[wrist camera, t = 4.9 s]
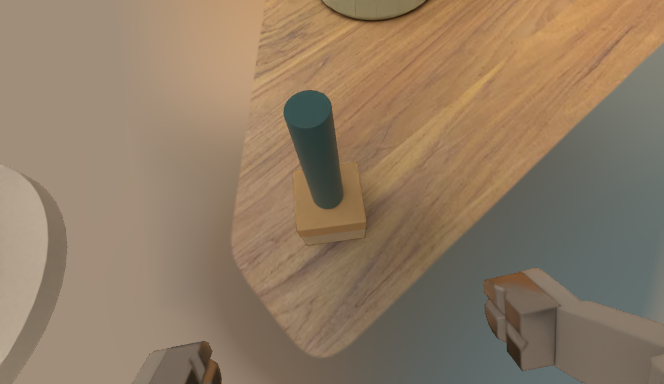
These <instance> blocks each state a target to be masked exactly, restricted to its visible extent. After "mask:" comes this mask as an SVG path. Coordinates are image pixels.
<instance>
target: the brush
mask: <svg viewBox="0 0 664 384" xmlns="http://www.w3.org/2000/svg"><path fill="white" fill-rule="evenodd" d="M284 117H285V120H286V123H287V126H288V129H289V132H290V135H291V138H292V140H293V143H294V146H295V149H296V152H297V155H298V158H299V161H300V164H301V167H302V169H303V170H296V171H293V181H294V197H295V213H296V229H297V232H298V234H299V236H300V238H303V240H304V241H305V243H306V245H313V244H321V243H328V242H336V241H343V240H351V239H358V238H365V229H366V228H367V221H366V215H365V209H364V203H363V197H362V191H361V184H360V178H359V172H358V166H357V162H353V163H346V164H339V157H338V150H337V142H336V135H335V128H334V120H333V113H332V106H331V102H330V100H329V99H328V97H327V96H325V95H324V94H323V93H321V92H318V91H313V90H307V91H302V92H299V93H297V94H295V95H293V96H292V97H291V98H290V99H289V100H288V101H287V102H286V104H285V107H284Z"/></svg>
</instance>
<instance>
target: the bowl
mask: <svg viewBox="0 0 664 384" xmlns="http://www.w3.org/2000/svg"><path fill="white" fill-rule="evenodd" d="M322 1H323V2H324V3H325V4H326V5H328V6H329V7H331V8H332V9H334V10H335V11H337V12H339V13H341V14H343V15H345V16H348V17H352V18H356V19H362V20H381V19H388V18H393V17H396V16H400V15H402V14H405V13H407V12H409V11H411V10H413V9H414V8H416V7H418V6H419V5H420V4H422V3H423V2H425V1H426V0H322Z"/></svg>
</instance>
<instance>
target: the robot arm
mask: <svg viewBox="0 0 664 384" xmlns="http://www.w3.org/2000/svg"><path fill="white" fill-rule="evenodd" d="M483 286H484V293H485V294H486V295H487V297H488V298H489V299H488V300H487V302H486V303H485V314H486V318H487V321H488V324H489V326H490V328H491V329H492V332H493V333H494V334H495V336H496V337H497V338H498V339H500V340H502V341H504V342H506V343H507V352H508V353H509V354H510V356H511V357H512V358H513V359H514V361H515V362H516V363H517V365H518V366H519V367H520V369H521V370H522V371H526V370H532V369H537V368H542V367H548V366H553V365H555V367H557V368H558V369H560V370H562V371H563V372H565V373H567V374H568V375H570V376H572V377H574V378H575V379H577V380H579V381H580V382H582V383H584V384H664V324H662V323H658V322H655V321H652V320H649V319H646V318H643V317H639V316H636V315H633V314H630V313H627V312H623V311H620V310H617V309H614V308H611V307H608V306H604V305H601V304H598V303H595V302H591V301H584V302H582V301H581V300H580V299H579V298H577V297H576V296H575V295H573V294H572V293H571V292H570V291H568V290H567V289H566V288H564V287H563V286H562V285H561V284H559V283H558V282H557V281H555V280H554V279H553V278H552V277H550V276H549V275H548V274H546V273H545V272H544V271H542V270H541V269H539V268H532V269H528V270H524V271H520V272H518V273H514V274H509V275H505V276H500V277H496V278H491V279H487V280H485V281H484V285H483ZM211 354H212V349H211V347H210V345H209V343H208V342H206V341H202V342H196V343H191V344H187V345H181V346H176V347H171V348H167V349H162V350H157V351H154V352H152V353H151V354H149V356H148V358H147V359H146V361H145V363H144V364H143V366H142V368H141V369H140V371H139V373H138V374H137V376H136V378H135V379H134V381H133V383H132V384H221V380H222V378H221V373H220V369H219V366H218V364H217V363H216V362H215V361H213V360H211V359H210V357H211Z"/></svg>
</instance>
